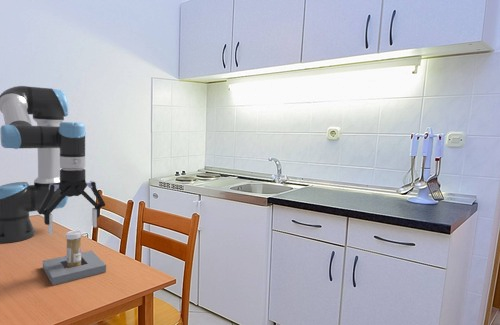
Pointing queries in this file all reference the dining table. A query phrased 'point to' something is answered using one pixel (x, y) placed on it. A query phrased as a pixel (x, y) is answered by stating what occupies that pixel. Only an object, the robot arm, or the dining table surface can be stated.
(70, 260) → the sprinkles bottle
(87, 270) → the socket plate
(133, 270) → the dining table surface
